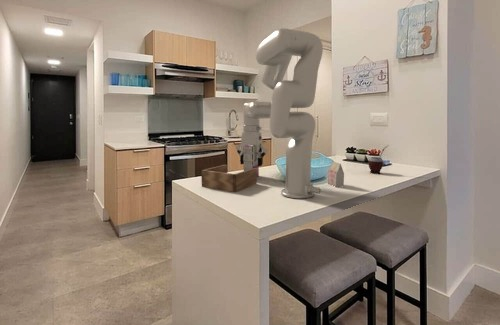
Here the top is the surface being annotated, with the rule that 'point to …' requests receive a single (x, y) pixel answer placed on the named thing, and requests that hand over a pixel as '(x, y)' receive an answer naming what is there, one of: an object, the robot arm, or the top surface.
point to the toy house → (336, 175)
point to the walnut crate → (228, 179)
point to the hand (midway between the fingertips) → (251, 164)
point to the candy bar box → (250, 158)
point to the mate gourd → (376, 163)
